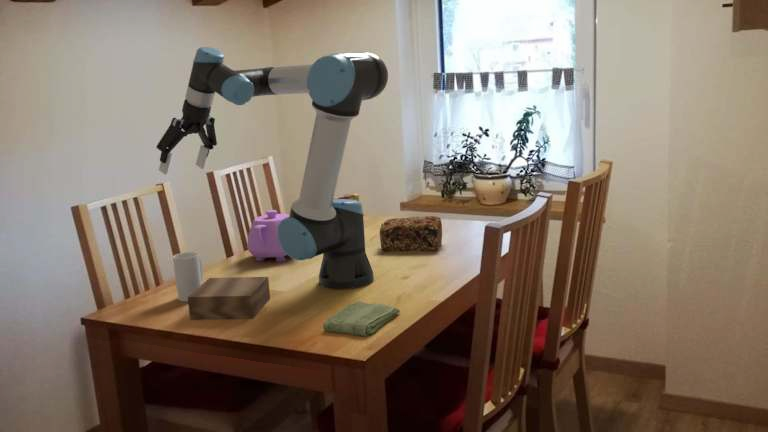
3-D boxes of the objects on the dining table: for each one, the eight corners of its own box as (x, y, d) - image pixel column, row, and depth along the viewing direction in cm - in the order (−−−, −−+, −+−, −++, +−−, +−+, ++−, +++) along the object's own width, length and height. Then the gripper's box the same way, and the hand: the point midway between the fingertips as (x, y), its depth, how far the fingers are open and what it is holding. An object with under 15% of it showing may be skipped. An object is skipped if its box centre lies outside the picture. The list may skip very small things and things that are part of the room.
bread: (443, 243, 258) (442, 213, 256) (438, 252, 248) (437, 221, 246) (386, 244, 262) (384, 214, 260) (379, 252, 252) (377, 221, 250)
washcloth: (402, 314, 194) (401, 301, 194) (369, 340, 179) (368, 326, 178) (355, 309, 200) (354, 297, 200) (318, 333, 185) (317, 320, 184)
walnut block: (270, 298, 212) (268, 276, 210) (252, 319, 196) (250, 295, 195) (211, 299, 214) (209, 277, 213) (190, 320, 198) (187, 297, 197)
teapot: (294, 268, 239) (290, 219, 236) (235, 266, 246) (230, 218, 243) (320, 251, 257) (317, 205, 254) (264, 249, 264) (260, 205, 261)
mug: (193, 303, 212) (188, 259, 209) (172, 301, 214) (167, 258, 212) (215, 291, 221) (210, 249, 218) (195, 290, 223) (190, 248, 221)
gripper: (222, 94, 235) (205, 158, 244) (153, 98, 215) (138, 168, 224) (239, 105, 232) (222, 170, 241) (171, 110, 212) (154, 180, 221)
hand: (181, 169), depth 232 cm, fingers open, 13 cm apart
